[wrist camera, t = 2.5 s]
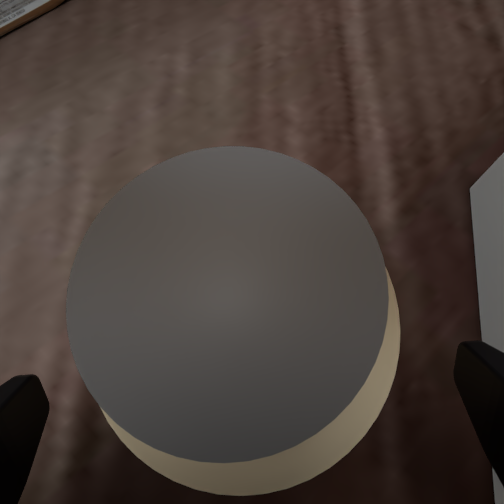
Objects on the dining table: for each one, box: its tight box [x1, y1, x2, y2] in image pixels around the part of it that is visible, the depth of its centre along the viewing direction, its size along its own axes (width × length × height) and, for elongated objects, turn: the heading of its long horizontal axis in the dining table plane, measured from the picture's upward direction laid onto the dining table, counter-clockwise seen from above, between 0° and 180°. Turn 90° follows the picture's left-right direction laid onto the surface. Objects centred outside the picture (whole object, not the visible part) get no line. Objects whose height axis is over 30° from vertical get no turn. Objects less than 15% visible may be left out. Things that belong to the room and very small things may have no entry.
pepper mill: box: [66, 146, 400, 496], centre depth 11 cm, size 5×5×13 cm
